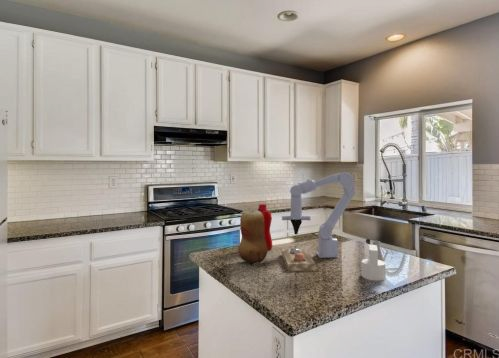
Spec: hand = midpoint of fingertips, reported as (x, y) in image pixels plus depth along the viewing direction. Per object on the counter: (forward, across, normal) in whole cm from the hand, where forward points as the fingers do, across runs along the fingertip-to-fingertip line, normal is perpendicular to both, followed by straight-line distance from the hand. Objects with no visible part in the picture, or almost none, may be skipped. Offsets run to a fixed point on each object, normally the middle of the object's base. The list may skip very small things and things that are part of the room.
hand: (295, 233), depth 158 cm
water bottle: (+11, +18, -10) cm, 23 cm away
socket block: (+10, +2, +14) cm, 18 cm away
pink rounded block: (+9, +2, +20) cm, 22 cm away
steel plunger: (+10, +2, +8) cm, 13 cm away
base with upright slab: (+10, -26, +34) cm, 44 cm away
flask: (+10, -36, +16) cm, 40 cm away
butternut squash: (+11, +22, +15) cm, 29 cm away
